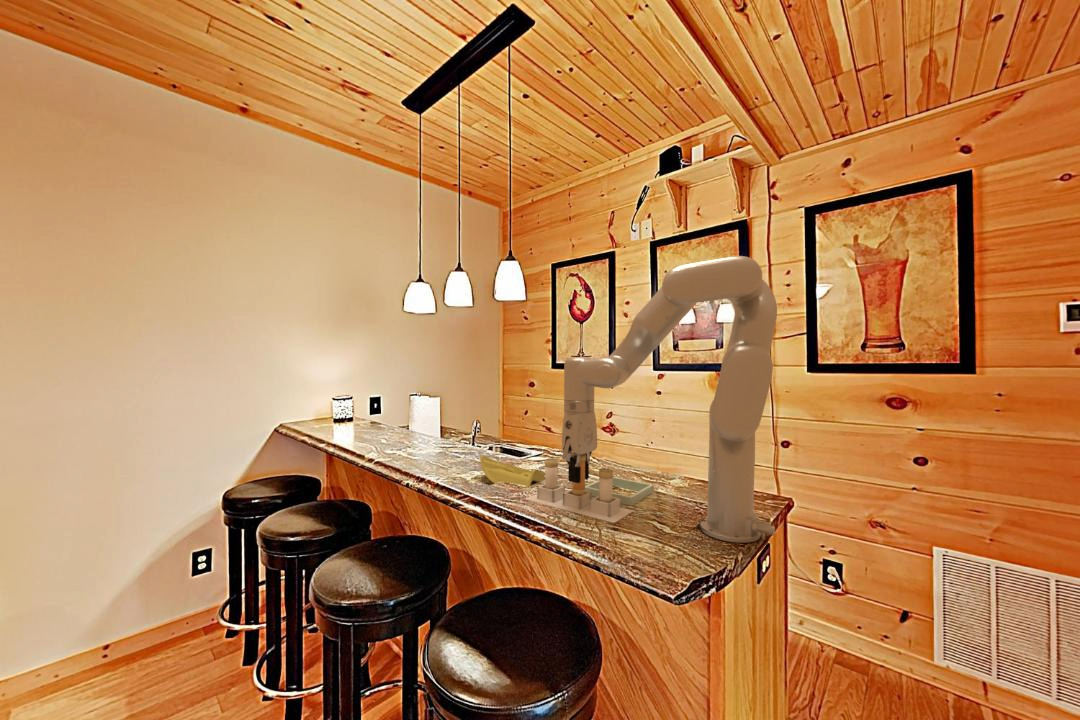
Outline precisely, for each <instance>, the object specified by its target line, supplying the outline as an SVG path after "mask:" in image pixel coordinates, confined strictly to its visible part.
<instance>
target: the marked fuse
mask: <svg viewBox="0 0 1080 720" xmlns="http://www.w3.org/2000/svg"><path fill="white" fill-rule="evenodd" d="M572 457H574V459H575V456H572ZM585 462H586V454H583V455H580V459H579V466H580V467H581V482H580V483H575V482H571V483H572V484H571V489H572V495H576V496H582V495H584V494H585V486H586V479H585Z"/></svg>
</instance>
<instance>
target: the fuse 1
mask: <svg viewBox="0 0 1080 720" xmlns="http://www.w3.org/2000/svg"><path fill="white" fill-rule="evenodd" d="M544 467H545V468H544V469H545V471H544V472H545V473H544V474H545V477H544V484H545V488H547V489H551V490H554V489H557V485H558V471H559V470H558V469H559V468H558V467H559V459H558V458H551V457H549V458H546V459H544Z"/></svg>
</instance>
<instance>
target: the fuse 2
mask: <svg viewBox="0 0 1080 720" xmlns="http://www.w3.org/2000/svg"><path fill="white" fill-rule="evenodd" d="M613 477H614V469H611V468H600V469H599V470H598V480H599V501H602V502H606V503H610V502H612V492H613V487H614V486H613Z"/></svg>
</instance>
